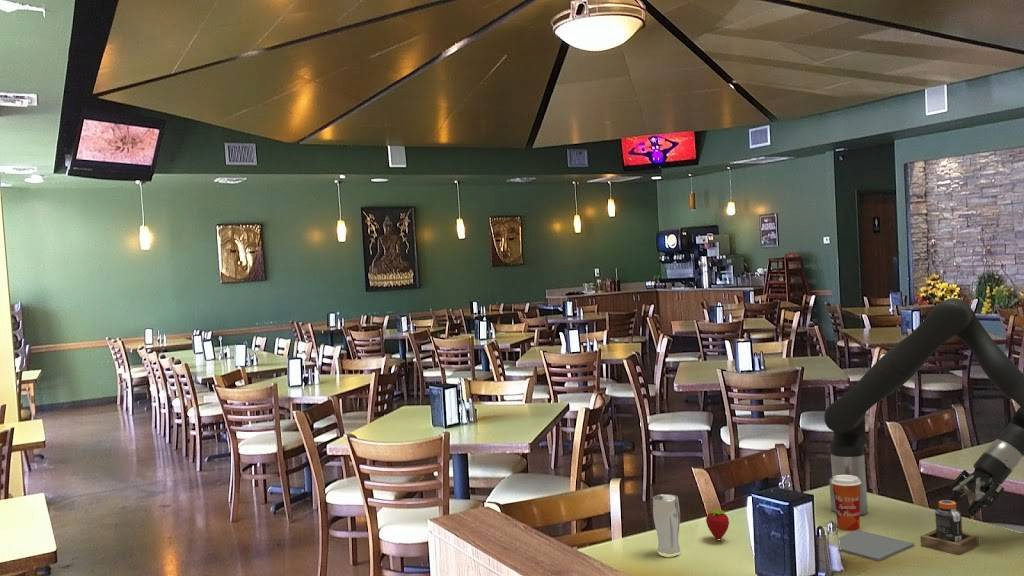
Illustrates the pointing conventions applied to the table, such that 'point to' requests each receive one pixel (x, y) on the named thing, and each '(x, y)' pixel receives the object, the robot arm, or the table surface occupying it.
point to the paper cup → (847, 501)
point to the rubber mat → (872, 545)
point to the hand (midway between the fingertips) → (958, 509)
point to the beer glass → (667, 522)
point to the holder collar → (950, 543)
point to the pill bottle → (948, 522)
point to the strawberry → (717, 523)
